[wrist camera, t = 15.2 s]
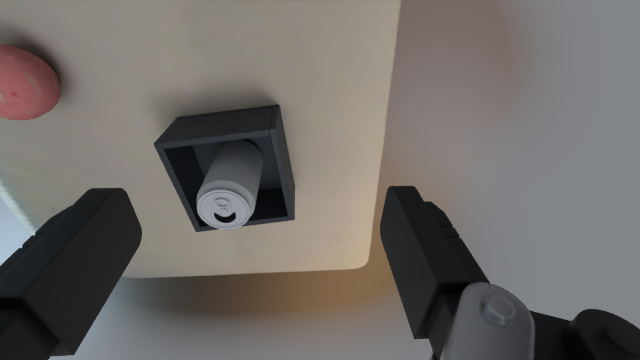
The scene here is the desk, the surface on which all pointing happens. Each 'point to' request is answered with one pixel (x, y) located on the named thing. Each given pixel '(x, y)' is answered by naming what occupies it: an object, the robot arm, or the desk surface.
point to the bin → (202, 146)
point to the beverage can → (231, 186)
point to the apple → (25, 85)
